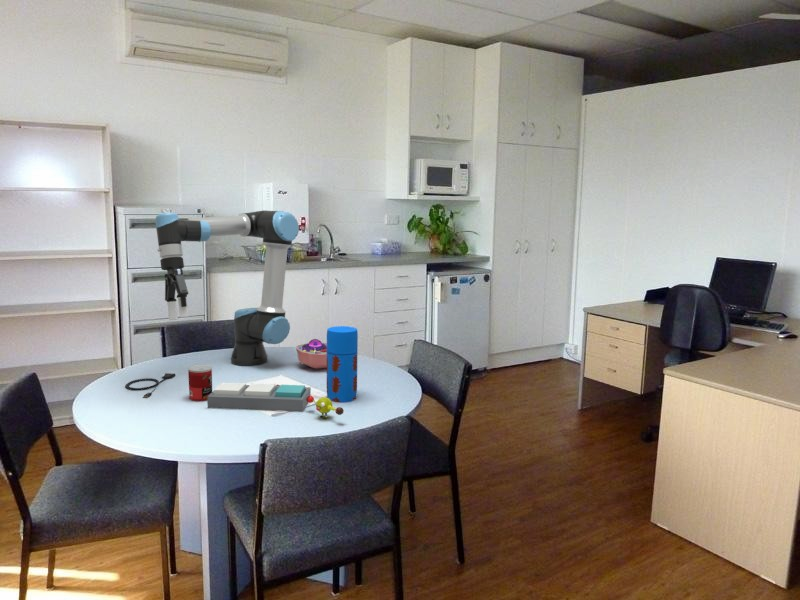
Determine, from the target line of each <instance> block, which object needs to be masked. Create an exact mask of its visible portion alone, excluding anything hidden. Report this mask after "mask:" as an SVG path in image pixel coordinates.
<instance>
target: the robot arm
mask: <svg viewBox="0 0 800 600" xmlns="http://www.w3.org/2000/svg"><path fill="white" fill-rule="evenodd" d="M155 229H156V236H157V237H156V238H157V243H158V244H157V245H158V249H157V252H158V253H159V258H161V259H160V268H161V271H167V272H166V273H165V274H164V301H166V303H167V309H168V310H167V311H168V317H169V318H168V319H169V321H173V320H179V317H180V318H188V317H189V316H190V315H189V309H188V308H189V306H188V298H187V297H188V295H189V291H188V286H187V283H186V280H185V276H184V272H183V271H184V270H183V269H184V267H185V263H184V256H183V255H184V253H183V247H182V242H198V243H200V242H207V241H208V240H210V238H212V237H225V236H235V235H236V236H237V235H240V236H241V237H250V238H251V237H253V238H259V239H262V244H263V245H264V246H265V255H264V266H263V267H264V268H263V279H262V291H261V301H260V302H261V303H260V306H258V307H249V308H248V307H247V308H241V309H237V310H235V312H234V316H233V317H234V318H233V321H234V347H233V350H232V353H231V357H230V363H231V364H232V365H237V366H241V367H242V366H245V367H246V366H247V367H250V366H252V367H253V366H258V365H264V364H265V363H267V362H268V354H267V351H266V349H265V346H264V343H266V344H269V345H278V344H281V343H282V342H284V340H285V339H287V337H288V336H289V333H290V330H291V325H290V322H289V320H288V319H287V318H286V310H285V309H284V308H283V303H284V292H285V280H286V269H287V259H288V258H287V257H288V250H289V248H291V247H292V245H293V241H294V240H295V239H296V238H297V237H298V235H299V233H300V225H299V222H298V220H297V218H296V217H295V215H293V214H292V213H290V212H289V211H284V210H264V209H263V210H257V211H251V212H241V213H239V214H238V215H234V216H233V215H230V216H229V215H228V216H209V217H189V218H179V216H178V214H177V213H176V212H162V213H159V214H157V215H156V216H155ZM176 294H177V295H176ZM176 298H177V299H176ZM177 301H178V302H177ZM177 303H178V309H177ZM177 310H178V311H179V316H178V311H177Z"/></svg>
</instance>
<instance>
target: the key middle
mask: <svg viewBox="0 0 800 600" xmlns="http://www.w3.org/2000/svg"><path fill="white" fill-rule="evenodd" d="M249 385H250V386H249V387H248V388H247V389H246V390H245V396H271V395H272V394H273V392H274V391H275V390H276V385H277V384H276V383H275V384H272V383H251V384H249Z"/></svg>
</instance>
